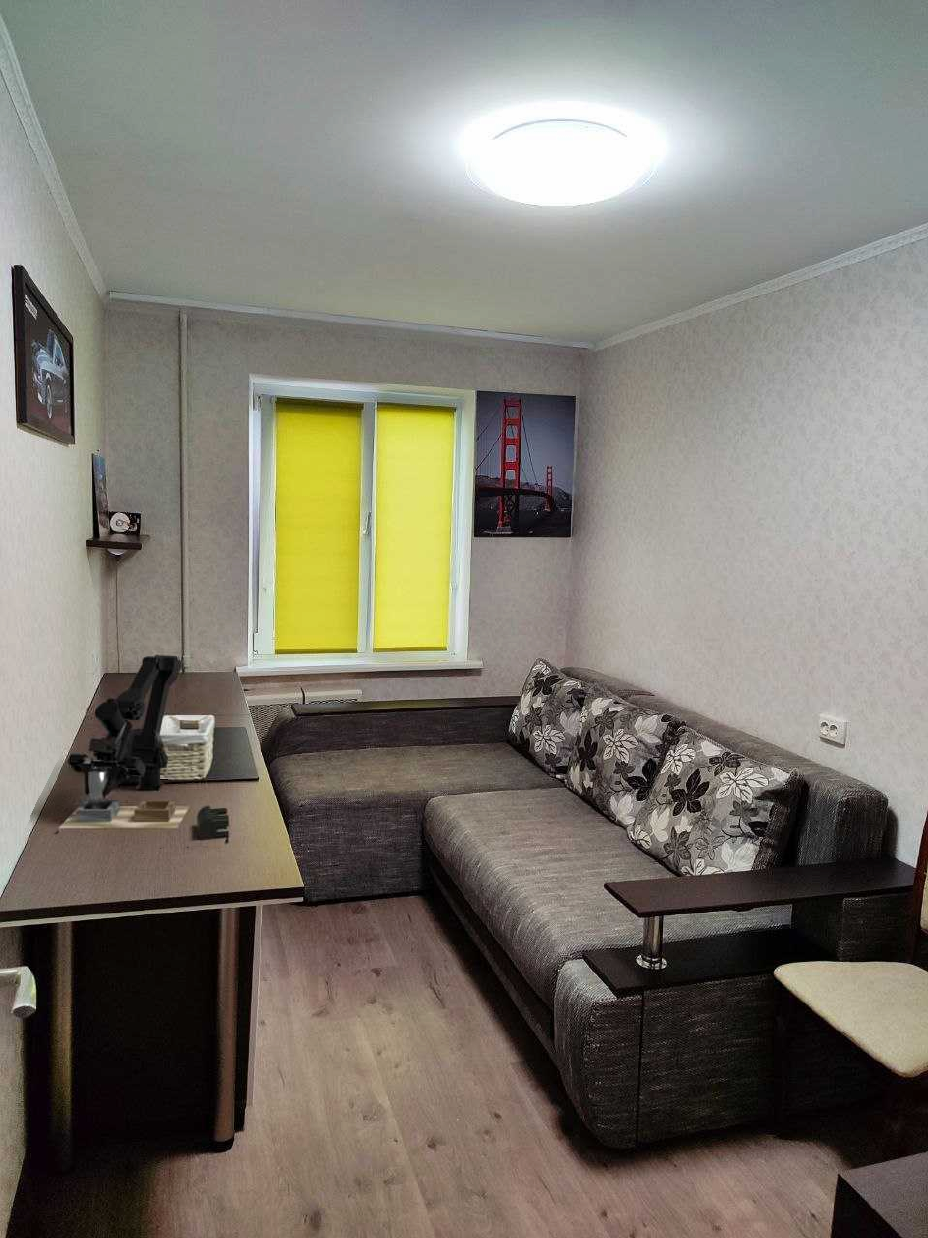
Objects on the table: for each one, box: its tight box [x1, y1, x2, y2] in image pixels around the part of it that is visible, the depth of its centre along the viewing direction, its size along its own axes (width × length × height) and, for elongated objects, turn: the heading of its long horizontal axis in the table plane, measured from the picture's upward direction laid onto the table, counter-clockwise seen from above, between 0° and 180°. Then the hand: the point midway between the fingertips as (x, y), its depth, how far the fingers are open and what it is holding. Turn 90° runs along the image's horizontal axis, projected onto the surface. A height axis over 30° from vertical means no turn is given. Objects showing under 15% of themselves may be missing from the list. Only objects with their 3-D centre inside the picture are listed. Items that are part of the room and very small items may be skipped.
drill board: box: [58, 799, 190, 833], centre depth 226 cm, size 16×28×4 cm, turn 97°
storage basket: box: [160, 714, 215, 781], centre depth 272 cm, size 24×16×15 cm
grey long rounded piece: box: [88, 767, 109, 809], centre depth 225 cm, size 4×4×11 cm
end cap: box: [196, 805, 230, 844], centre depth 218 cm, size 10×7×7 cm
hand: (95, 794), depth 223 cm, fingers closed on grey long rounded piece, 4 cm apart
